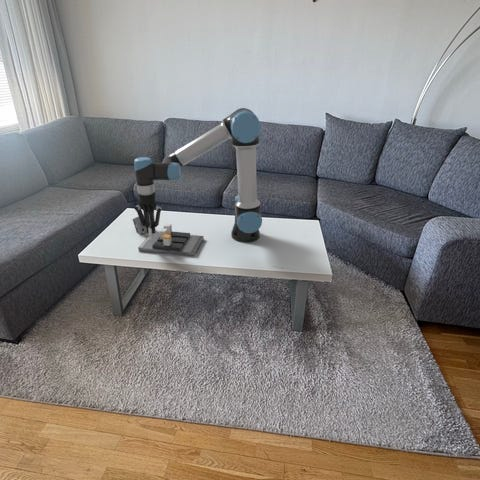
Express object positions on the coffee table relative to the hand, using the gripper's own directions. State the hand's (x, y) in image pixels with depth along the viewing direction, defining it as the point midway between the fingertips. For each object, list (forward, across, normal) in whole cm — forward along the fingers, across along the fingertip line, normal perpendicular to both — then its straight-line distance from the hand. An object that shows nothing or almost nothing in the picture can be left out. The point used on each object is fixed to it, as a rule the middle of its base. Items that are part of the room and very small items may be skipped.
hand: (152, 238), depth 160 cm
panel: (+6, -8, -6) cm, 11 cm away
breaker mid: (+2, -4, -6) cm, 7 cm away
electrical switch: (+6, +13, -19) cm, 24 cm away
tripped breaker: (+2, -8, 0) cm, 8 cm away
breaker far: (+2, -4, -12) cm, 13 cm away
